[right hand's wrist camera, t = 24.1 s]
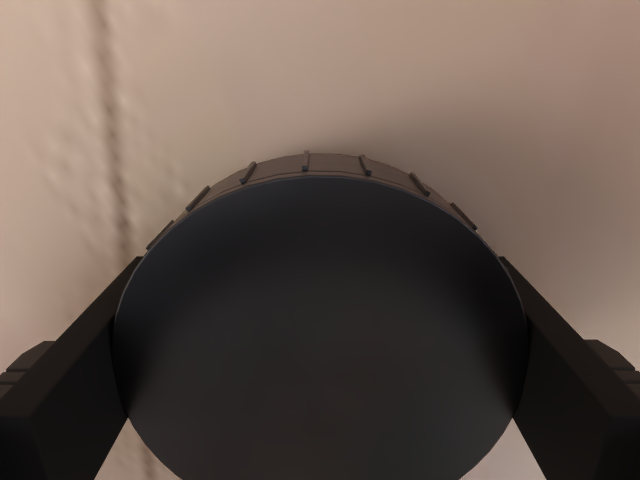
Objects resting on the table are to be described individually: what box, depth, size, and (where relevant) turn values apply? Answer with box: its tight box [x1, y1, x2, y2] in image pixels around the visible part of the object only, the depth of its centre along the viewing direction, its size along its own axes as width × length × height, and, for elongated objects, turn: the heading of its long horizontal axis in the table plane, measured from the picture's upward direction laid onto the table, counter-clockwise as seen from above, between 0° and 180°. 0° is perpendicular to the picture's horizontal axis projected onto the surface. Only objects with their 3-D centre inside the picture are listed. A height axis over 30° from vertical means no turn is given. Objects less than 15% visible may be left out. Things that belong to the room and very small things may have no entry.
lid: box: [112, 151, 529, 480], centre depth 11 cm, size 10×10×2 cm
